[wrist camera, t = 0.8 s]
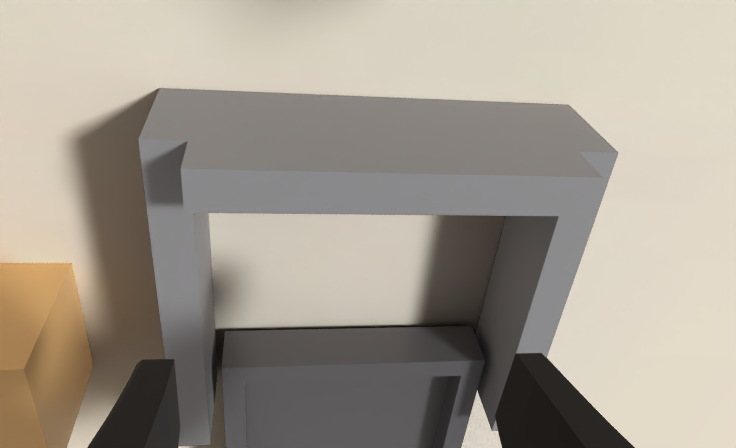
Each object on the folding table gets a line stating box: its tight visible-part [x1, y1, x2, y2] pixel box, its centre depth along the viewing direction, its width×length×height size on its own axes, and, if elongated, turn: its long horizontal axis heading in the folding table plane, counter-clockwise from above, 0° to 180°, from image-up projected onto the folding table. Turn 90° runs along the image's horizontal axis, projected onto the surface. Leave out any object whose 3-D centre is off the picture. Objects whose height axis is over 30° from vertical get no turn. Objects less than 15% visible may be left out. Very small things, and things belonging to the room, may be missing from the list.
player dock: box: [138, 88, 618, 446], centre depth 20 cm, size 12×13×5 cm
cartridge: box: [0, 263, 94, 448], centre depth 20 cm, size 5×4×5 cm
